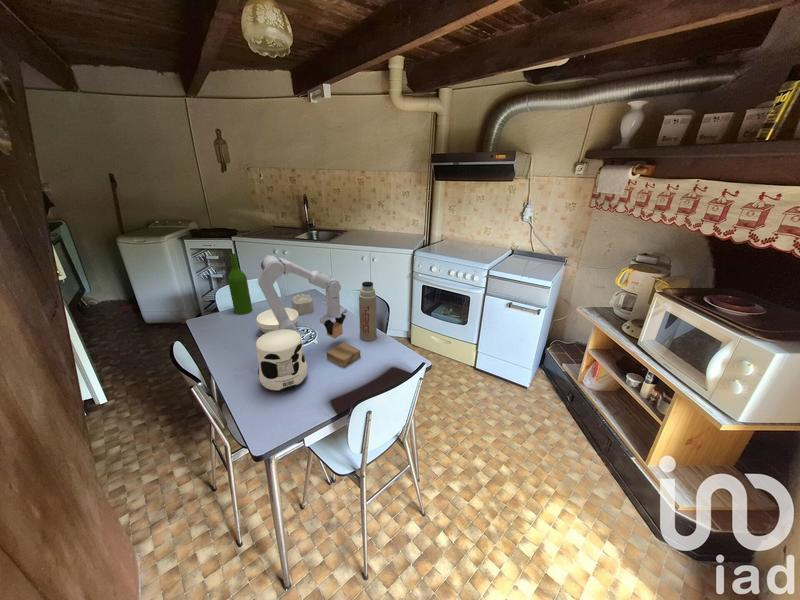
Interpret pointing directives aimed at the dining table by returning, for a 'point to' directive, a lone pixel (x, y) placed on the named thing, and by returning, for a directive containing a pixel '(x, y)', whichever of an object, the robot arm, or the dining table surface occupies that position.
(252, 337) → the dining table surface
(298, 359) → the milk container
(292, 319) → the bowl
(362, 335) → the thermos bottle
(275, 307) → the robot arm
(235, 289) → the wine bottle
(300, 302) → the lumpy-topped squat cylinder
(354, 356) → the walnut base
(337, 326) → the terracotta cube
